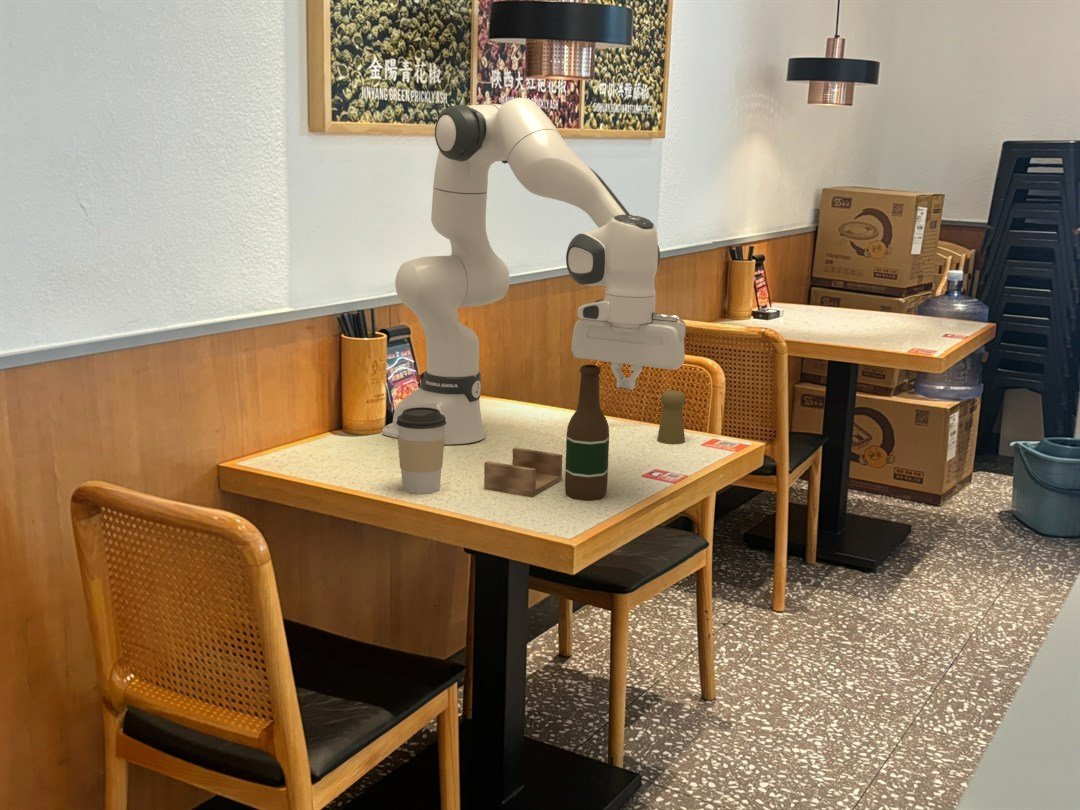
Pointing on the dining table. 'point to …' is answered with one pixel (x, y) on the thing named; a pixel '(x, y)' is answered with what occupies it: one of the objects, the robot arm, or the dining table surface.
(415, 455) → the coffee cup
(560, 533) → the dining table surface
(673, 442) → the cork
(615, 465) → the dining table surface
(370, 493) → the dining table surface
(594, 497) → the beer bottle
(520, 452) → the walnut rest
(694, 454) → the dining table surface
